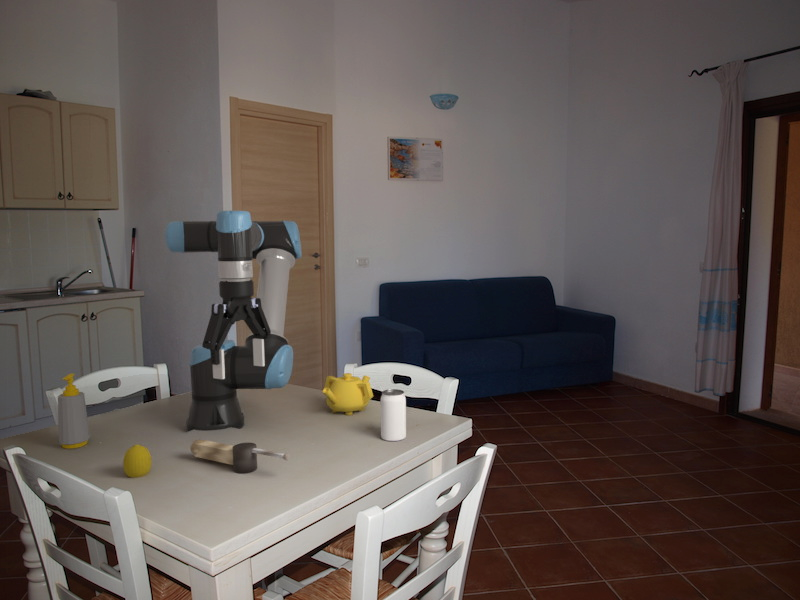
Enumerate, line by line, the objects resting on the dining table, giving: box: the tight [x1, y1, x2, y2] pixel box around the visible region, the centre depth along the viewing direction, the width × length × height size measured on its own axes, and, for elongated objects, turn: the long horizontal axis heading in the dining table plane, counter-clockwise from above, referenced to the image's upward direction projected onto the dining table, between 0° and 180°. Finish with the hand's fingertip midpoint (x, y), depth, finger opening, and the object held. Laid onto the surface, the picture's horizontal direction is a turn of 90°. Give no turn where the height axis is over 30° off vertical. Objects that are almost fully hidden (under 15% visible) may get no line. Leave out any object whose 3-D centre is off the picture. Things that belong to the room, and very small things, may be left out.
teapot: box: [322, 372, 374, 417], centre depth 174 cm, size 20×18×11 cm
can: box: [379, 388, 407, 443], centre depth 150 cm, size 6×6×12 cm
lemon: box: [122, 443, 153, 479], centre depth 126 cm, size 6×6×8 cm
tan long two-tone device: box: [190, 439, 291, 474], centre depth 128 cm, size 27×5×5 cm, turn 63°
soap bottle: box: [57, 373, 91, 450], centre depth 147 cm, size 7×7×18 cm
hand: (240, 371), depth 136 cm, fingers open, 13 cm apart
